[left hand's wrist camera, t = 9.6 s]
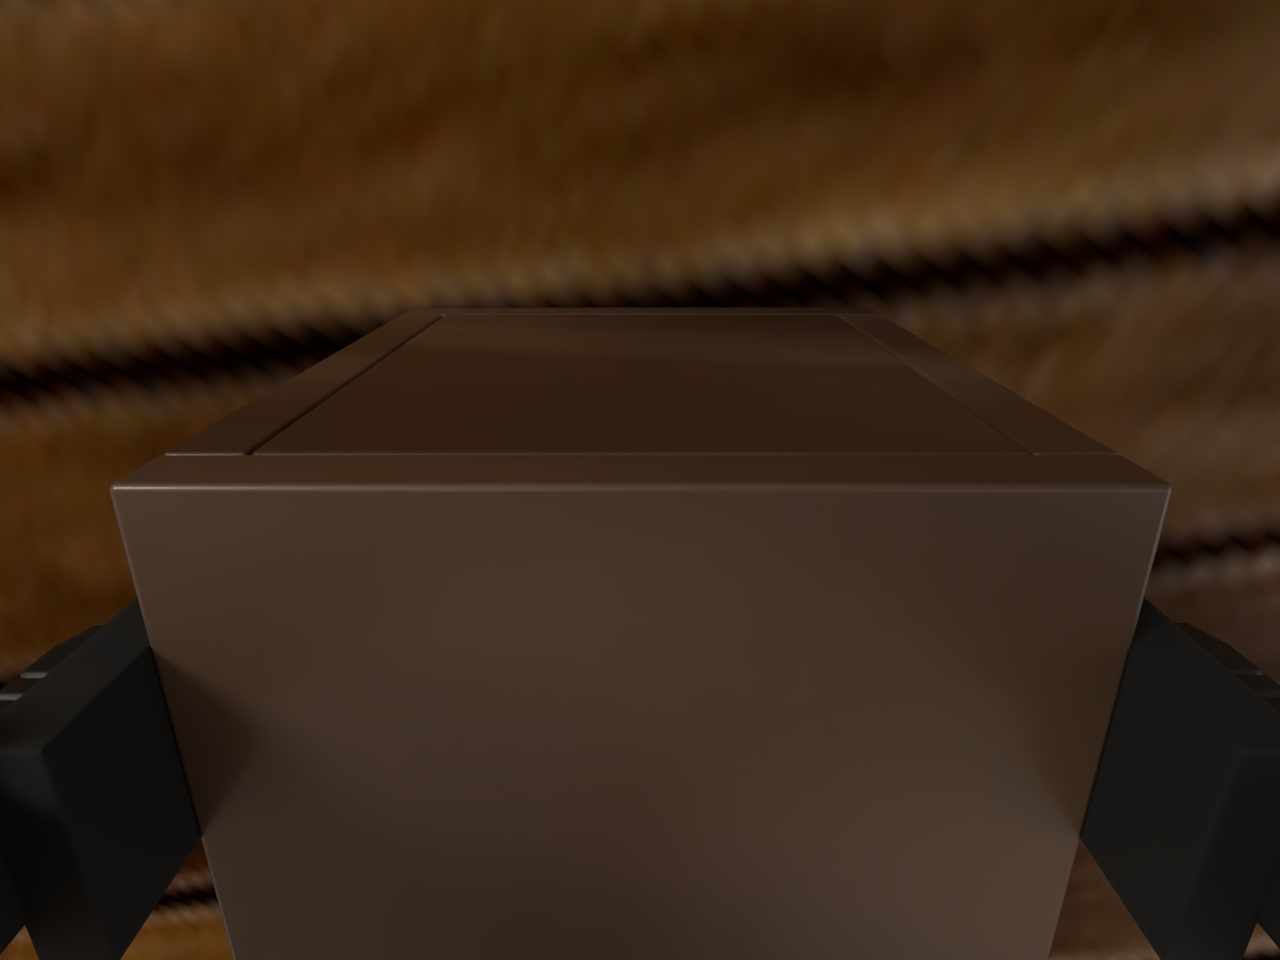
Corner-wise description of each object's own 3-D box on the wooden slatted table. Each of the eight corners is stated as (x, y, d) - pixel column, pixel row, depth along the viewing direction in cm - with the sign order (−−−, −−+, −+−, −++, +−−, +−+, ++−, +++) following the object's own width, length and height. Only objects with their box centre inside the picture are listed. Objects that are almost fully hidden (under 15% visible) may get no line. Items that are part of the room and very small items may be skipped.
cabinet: (814, 836, 24) (947, 1347, 14) (467, 836, 24) (333, 1346, 14) (869, 307, 18) (1178, 484, 8) (411, 307, 18) (103, 484, 8)
